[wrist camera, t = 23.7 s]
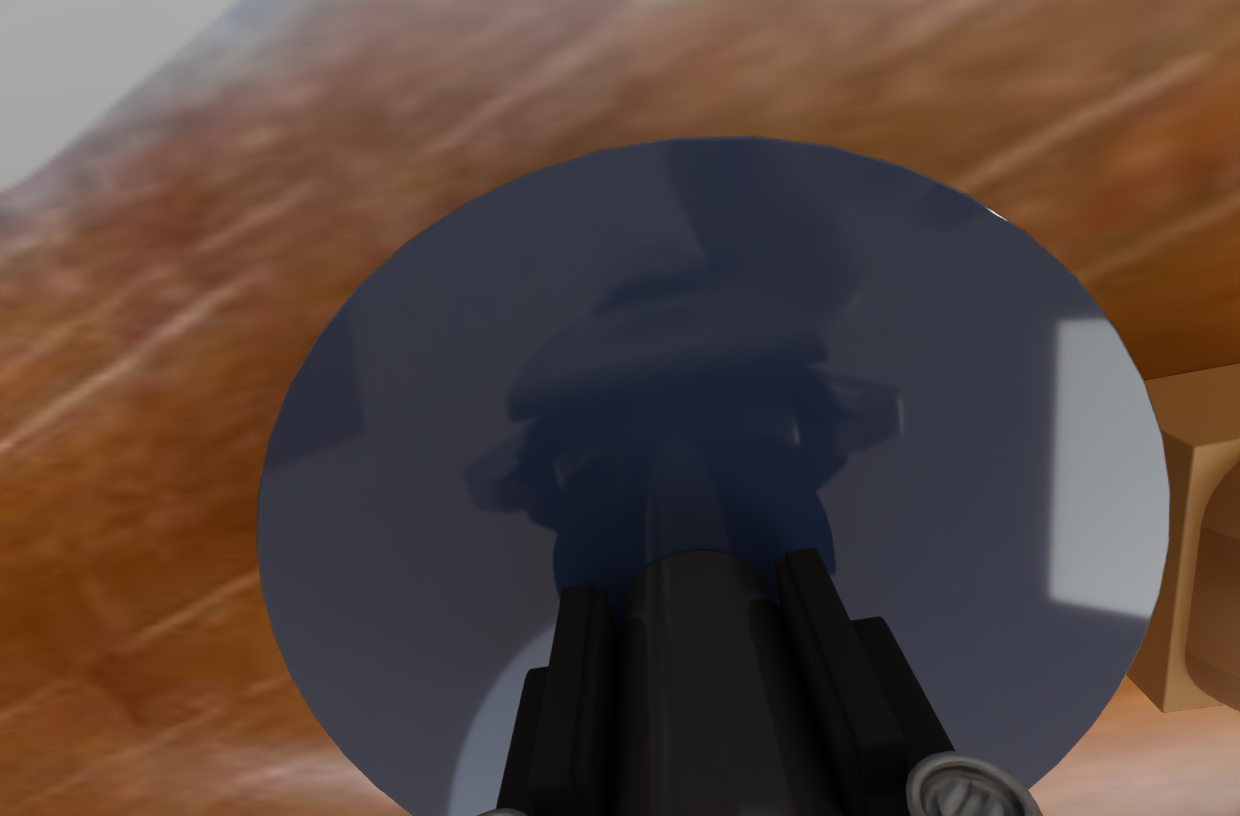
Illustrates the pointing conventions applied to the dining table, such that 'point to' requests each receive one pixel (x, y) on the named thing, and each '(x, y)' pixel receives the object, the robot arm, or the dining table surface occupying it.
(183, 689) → the dining table surface
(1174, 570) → the bread
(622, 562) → the lid
